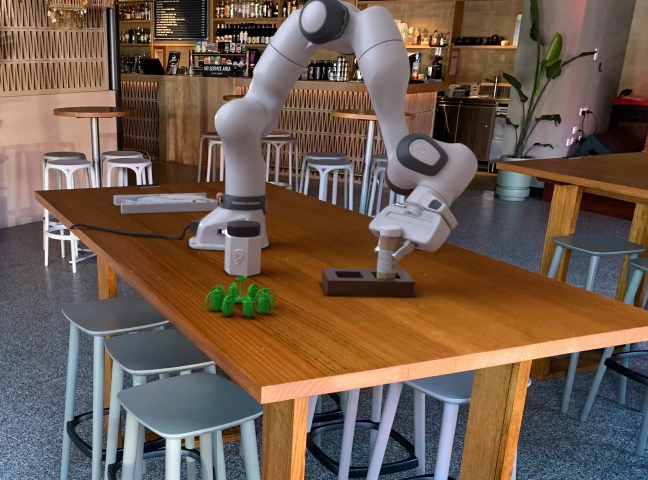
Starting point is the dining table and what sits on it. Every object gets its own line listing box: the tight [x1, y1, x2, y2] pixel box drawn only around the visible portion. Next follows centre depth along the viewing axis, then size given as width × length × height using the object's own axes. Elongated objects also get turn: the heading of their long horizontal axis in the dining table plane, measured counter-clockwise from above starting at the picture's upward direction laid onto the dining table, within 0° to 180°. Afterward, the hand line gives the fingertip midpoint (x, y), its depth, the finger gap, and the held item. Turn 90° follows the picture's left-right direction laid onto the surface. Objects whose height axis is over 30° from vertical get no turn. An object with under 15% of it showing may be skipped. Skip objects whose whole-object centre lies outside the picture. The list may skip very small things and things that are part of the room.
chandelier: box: [205, 276, 276, 318], centre depth 164 cm, size 15×15×7 cm
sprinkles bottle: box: [376, 225, 401, 279], centre depth 177 cm, size 5×5×14 cm
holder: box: [321, 267, 416, 298], centre depth 180 cm, size 11×19×4 cm, turn 88°
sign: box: [113, 192, 219, 215], centre depth 278 cm, size 34×3×20 cm
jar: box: [224, 220, 262, 278], centre depth 192 cm, size 9×8×12 cm
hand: (385, 256), depth 177 cm, fingers closed on sprinkles bottle, 4 cm apart
